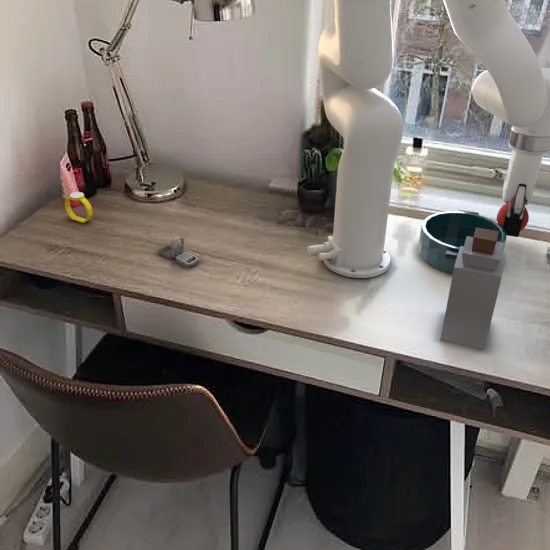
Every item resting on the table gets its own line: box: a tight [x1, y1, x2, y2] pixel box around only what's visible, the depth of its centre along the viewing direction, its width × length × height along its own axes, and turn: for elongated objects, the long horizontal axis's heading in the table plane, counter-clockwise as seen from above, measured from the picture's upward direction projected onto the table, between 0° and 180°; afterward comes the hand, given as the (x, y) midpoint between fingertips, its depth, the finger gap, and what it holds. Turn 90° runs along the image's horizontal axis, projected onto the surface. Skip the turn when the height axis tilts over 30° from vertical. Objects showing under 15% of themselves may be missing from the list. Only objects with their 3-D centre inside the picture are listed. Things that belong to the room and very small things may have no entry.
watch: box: [64, 191, 94, 224], centre depth 132 cm, size 6×3×6 cm, turn 66°
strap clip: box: [158, 235, 200, 268], centre depth 121 cm, size 8×3×4 cm, turn 50°
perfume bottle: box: [439, 227, 506, 351], centre depth 99 cm, size 7×7×18 cm
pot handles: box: [445, 209, 480, 260], centre depth 122 cm, size 19×4×1 cm, turn 160°
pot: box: [417, 210, 508, 276], centre depth 123 cm, size 15×15×6 cm
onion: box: [496, 198, 530, 232], centre depth 126 cm, size 6×6×8 cm
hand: (510, 226), depth 127 cm, fingers closed on onion, 5 cm apart
